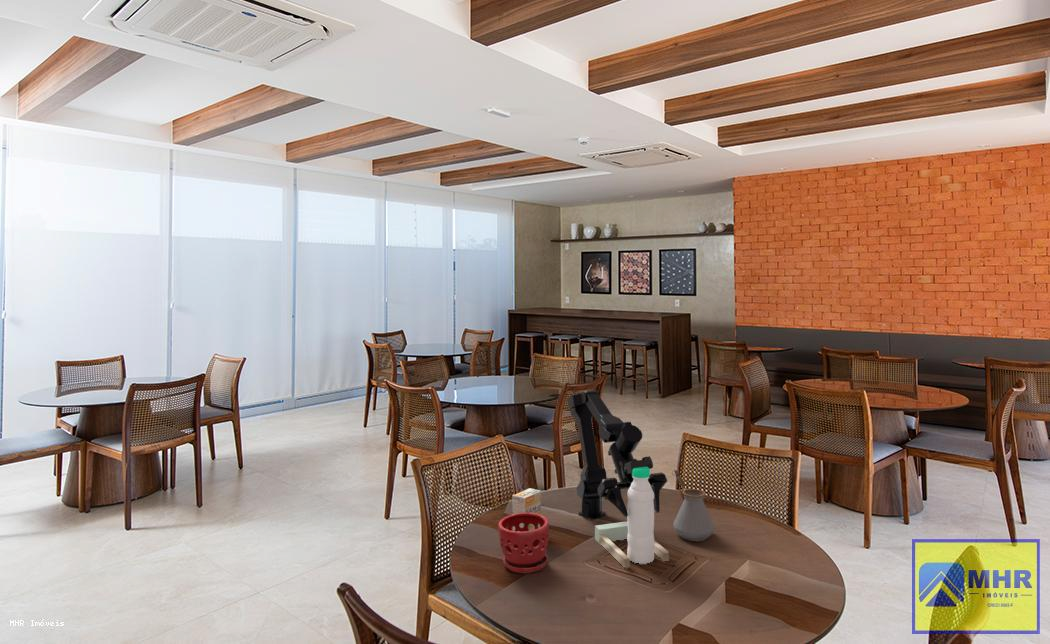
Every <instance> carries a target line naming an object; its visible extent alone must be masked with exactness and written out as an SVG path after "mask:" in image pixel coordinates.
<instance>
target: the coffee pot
mask: <svg viewBox="0 0 1050 644" xmlns="http://www.w3.org/2000/svg"><path fill="white" fill-rule="evenodd" d="M673 472H674V474H673ZM671 475H672V476H674V475H675V477H676V478H677V481H678V483H679V485H680V487H681V488H682V495H684V496H683V497H684V499H683V501H682V504H681V505H680V508H679V510H678V513H677V515H676V517H675V518H674V522H673V528H674V530H675V532H676V533H677V534H678V535H679V536H680V537H681V538H682V539H684V540H687V541H690V542H702V541H705V540H707V539H708V538H710V537H711V536H712V534H713V533H714V531H715V525H714V523H713V520H712V519H711V516H710V514H709V511H708V509H707V506H706V504H705V501H704V497H705V496H706V493H707V492H706V491H704V490H702V489H696V488H688V489H687V488H686V485H685V483H684V480H683V478H681V475H680V472H679V471H678V470H676V469H674V470H672V472H671Z"/></svg>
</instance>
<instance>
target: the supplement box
mask: <svg viewBox="0 0 1050 644" xmlns="http://www.w3.org/2000/svg"><path fill="white" fill-rule="evenodd" d="M511 497H512V499H511V500H512V515H513V514H518V513H534V514H539V515H542V491H541V490H539V489H535V488H530V487H529V488H527V489H524V490H522V491H519V492H517V493H514V494H512V496H511ZM519 526H520V527H521V528H522V527H524V524H523V523H521V524H520V525H519ZM538 527H539V528H540V527H541V526H540V524H538ZM528 529H529V530H530V531H532V530H535V527H534V525H533V524H529V525H528ZM514 530H515V527H514V526H513V527H512V531H514ZM518 532H519V531H518Z"/></svg>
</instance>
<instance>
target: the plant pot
mask: <svg viewBox="0 0 1050 644" xmlns="http://www.w3.org/2000/svg"><path fill="white" fill-rule="evenodd" d="M521 523H523V524H524V527H522V528H521V527H520V526H519V525H520V524H521ZM529 524H533V525H534V527H535V530H532V531H530V530H529V529H528V525H529ZM538 524H540V526H541V527H540V528H539V527H538ZM513 526H514V527H515V530H514V531H513ZM518 531H519V532H518ZM549 536H550V526H549V521H548V518H547V517H545V516H544V515H542V514H541V515H539V514H534V513H518V514H513V513H512V514H510V515H507V516H505V517H503V518H501V519H500V521H498V538H499V544H500V548H501V551H502V554H503V555H504V557H503V564H504V566H505V567H506V569H508V570H510V571H512V572H514V573H518V574H530V573H531V574H532V573H534V572H538V571H540V570H542V569H543V568H545V566H546V565H547V563H548V560H549V558H548V557H549V556H548V555H547V550H548V545H549V538H550V537H549Z"/></svg>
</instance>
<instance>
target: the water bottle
mask: <svg viewBox="0 0 1050 644" xmlns="http://www.w3.org/2000/svg"><path fill="white" fill-rule="evenodd" d="M650 470H651V469H649V468H648V467H639V468H634V469H633V471H632V477H633V482H632V483H631V486H630V488H628V490H627V492H626V493H627V495H626V496H627V497H626V498H627V507H626V509H627V513H628V516H627V517H626V520H627V524H628V535H627V540H626V541H627V549H626V550H627V554H626V556H627V557H629V558H630V562H631V561H632V562H631V563H633V562H634V563H633V564H636V563H639V564H638V565H648V564H647V563H649V564H651V563H653V561H654V559H655V554H654V540H655V535H654V532H655V509H654V502H653V500H654V492H653V490H652V488H651V485H650V483H649V482H648V478H649V476H650V474H651V471H650ZM650 562H651V563H650Z"/></svg>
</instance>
